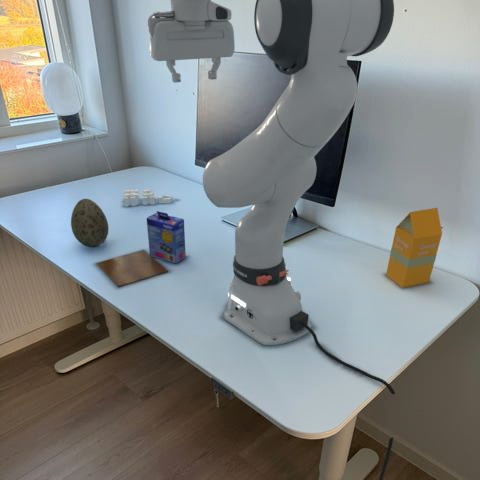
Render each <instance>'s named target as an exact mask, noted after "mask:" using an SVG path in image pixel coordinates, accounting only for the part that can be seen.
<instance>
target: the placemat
mask: <svg viewBox="0 0 480 480" xmlns="http://www.w3.org/2000/svg"><path fill="white" fill-rule="evenodd" d="M96 265H97V266H98V268H100V270H102V272H104V274H105V275H106V276H107V277H108V279H109V280H111V281H112V282H113V283H114V284H115V286H116V287H117V288H122V287H124V286H127V285H130V284H133V283H137V282H140V281H143V280H146V279H149V278H153V277H156V276H159V275H163V274H165V273H168V272H169V270H168V269H166V267H164V266H163V265H162V264H161V263H160V262H158V261H157V260H156V259H155V257H153V256H150V253H148V252H147V251H146V250H144V249H142V250H138V251H135V252H131V253H128V254H127V253H126V254H124V255H120V256H117V257H113V258H110V259H106V260H103V261H98V262H96Z"/></svg>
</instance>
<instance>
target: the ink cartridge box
mask: <svg viewBox="0 0 480 480" xmlns="http://www.w3.org/2000/svg"><path fill="white" fill-rule="evenodd" d="M146 228H147V238H148V239H147V240H148V250H149V255H150V256H151V257H152V258H156V259H159V260H162V261H166V262H169V263H173V264H177V263H179V262H181V261H182V260H183V259H185V258H186V257H187V256H186V255H187V254H186V236H185V235H186V234H185V219H184V218H181V217H178V216H172V215H169V214H168V212H163V211H158V210H156V212H154V213H153V214H151V215H148V216H147V217H146Z"/></svg>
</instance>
